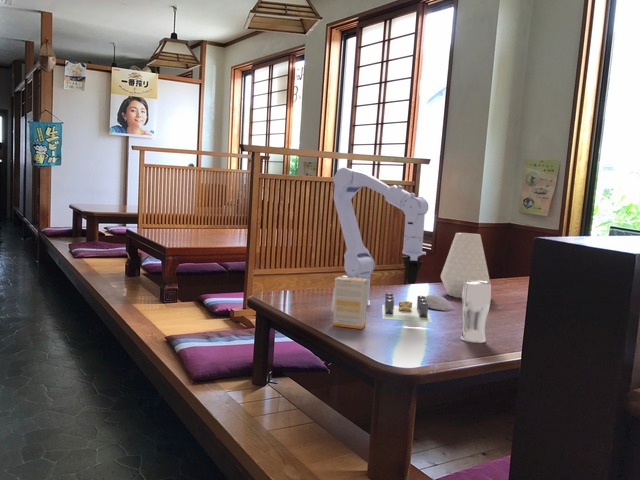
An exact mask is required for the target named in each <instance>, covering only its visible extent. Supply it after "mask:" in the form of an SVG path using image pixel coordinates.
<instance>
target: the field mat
mask: <svg viewBox="0 0 640 480" xmlns="http://www.w3.org/2000/svg"><path fill="white" fill-rule="evenodd" d="M381 311H382V312H381V313H382V315H381V317H382V319H383V320H393V321H407V322H417V323H418V322H419V323H433V320H432V318H431V315H430V313H429V312H428V317H427V318H422V317H419V313H418V309H417V306H412V311H410V312H405V311H400V310H399V305H394V309H393V314H385V304H382V307H381Z"/></svg>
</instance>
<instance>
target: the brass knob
mask: <svg viewBox="0 0 640 480" xmlns="http://www.w3.org/2000/svg"><path fill="white" fill-rule="evenodd" d="M398 306H399V310H400V311H405V312H410V311H412V307H413V302H412V301H408V300H399V301H398Z"/></svg>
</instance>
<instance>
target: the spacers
mask: <svg viewBox="0 0 640 480" xmlns="http://www.w3.org/2000/svg"><path fill="white" fill-rule="evenodd" d="M425 297H426V296H425V295H418V296H417V301H416V307H417V309H418V313H419V317H422V318H427V317H428V313H429V308H428V303H427V300H425ZM384 305H385V314H393V309H394V306H395V299H394V293H392V292H386V293H385V298H384Z"/></svg>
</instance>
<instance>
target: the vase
mask: <svg viewBox="0 0 640 480" xmlns="http://www.w3.org/2000/svg"><path fill="white" fill-rule="evenodd" d="M448 251H449V252H448V255H447V258H446V259H445V263H444V265H443V267H442V271H441V274H440V280H441V281H442V284H443V285H444V288H445V290H446V292H447V294H448V296H449V297H452V296H453V297H452V298H458V299H462V294H463V287H464V281H465V280H478V281H485V282H489V283H490V276H489V275H490V274H489V269H488V265H487V260H486V255H485V251H484V246H483V242H482V236H481V234H479V233H469V232H455V235H454V238H453V240H452V242H451V245H450V249H449V250H448Z"/></svg>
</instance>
